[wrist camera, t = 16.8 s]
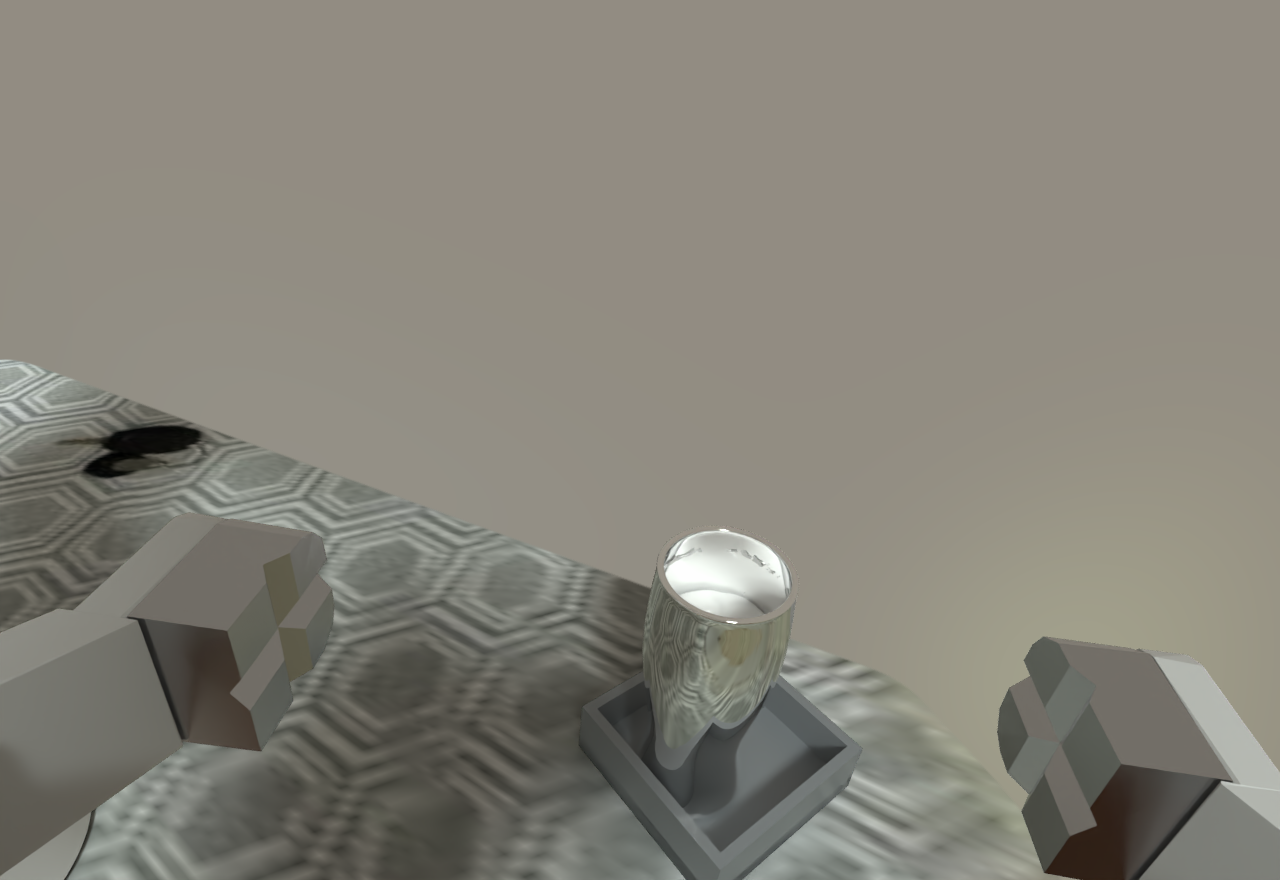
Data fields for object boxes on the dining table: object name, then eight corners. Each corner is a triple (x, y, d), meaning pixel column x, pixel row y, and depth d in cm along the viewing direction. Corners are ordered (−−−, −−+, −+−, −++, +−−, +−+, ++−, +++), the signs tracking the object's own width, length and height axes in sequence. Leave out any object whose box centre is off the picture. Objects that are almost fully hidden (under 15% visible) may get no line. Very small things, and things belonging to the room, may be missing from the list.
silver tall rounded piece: (772, 804, 40) (835, 604, 32) (657, 848, 37) (695, 643, 30) (712, 703, 45) (754, 511, 37) (607, 736, 43) (628, 537, 35)
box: (709, 908, 36) (720, 870, 34) (578, 745, 43) (582, 706, 41) (847, 786, 43) (862, 748, 41) (714, 661, 50) (722, 624, 48)
